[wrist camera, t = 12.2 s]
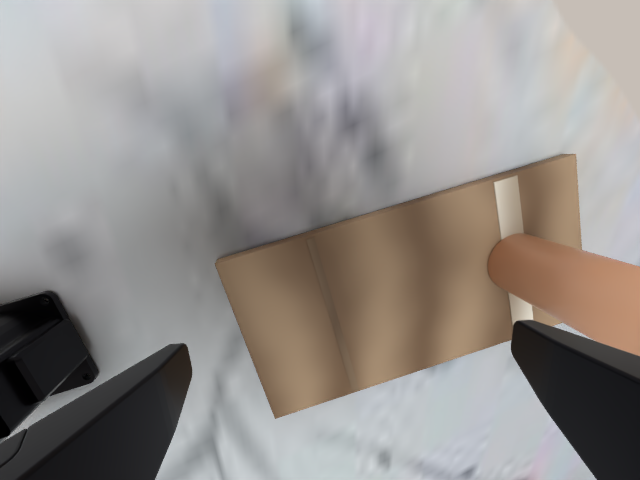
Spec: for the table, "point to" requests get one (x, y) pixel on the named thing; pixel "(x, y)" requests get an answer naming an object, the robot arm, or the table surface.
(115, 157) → the table surface
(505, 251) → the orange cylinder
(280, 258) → the board
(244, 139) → the table surface
